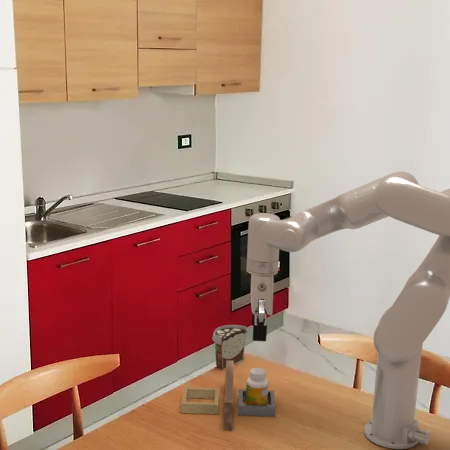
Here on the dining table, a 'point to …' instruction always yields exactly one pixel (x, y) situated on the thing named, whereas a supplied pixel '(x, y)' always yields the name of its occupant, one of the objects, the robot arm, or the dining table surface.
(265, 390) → the supplement bottle
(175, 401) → the dining table surface
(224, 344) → the food container
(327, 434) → the dining table surface
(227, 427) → the brown wooden plank
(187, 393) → the double square frame
